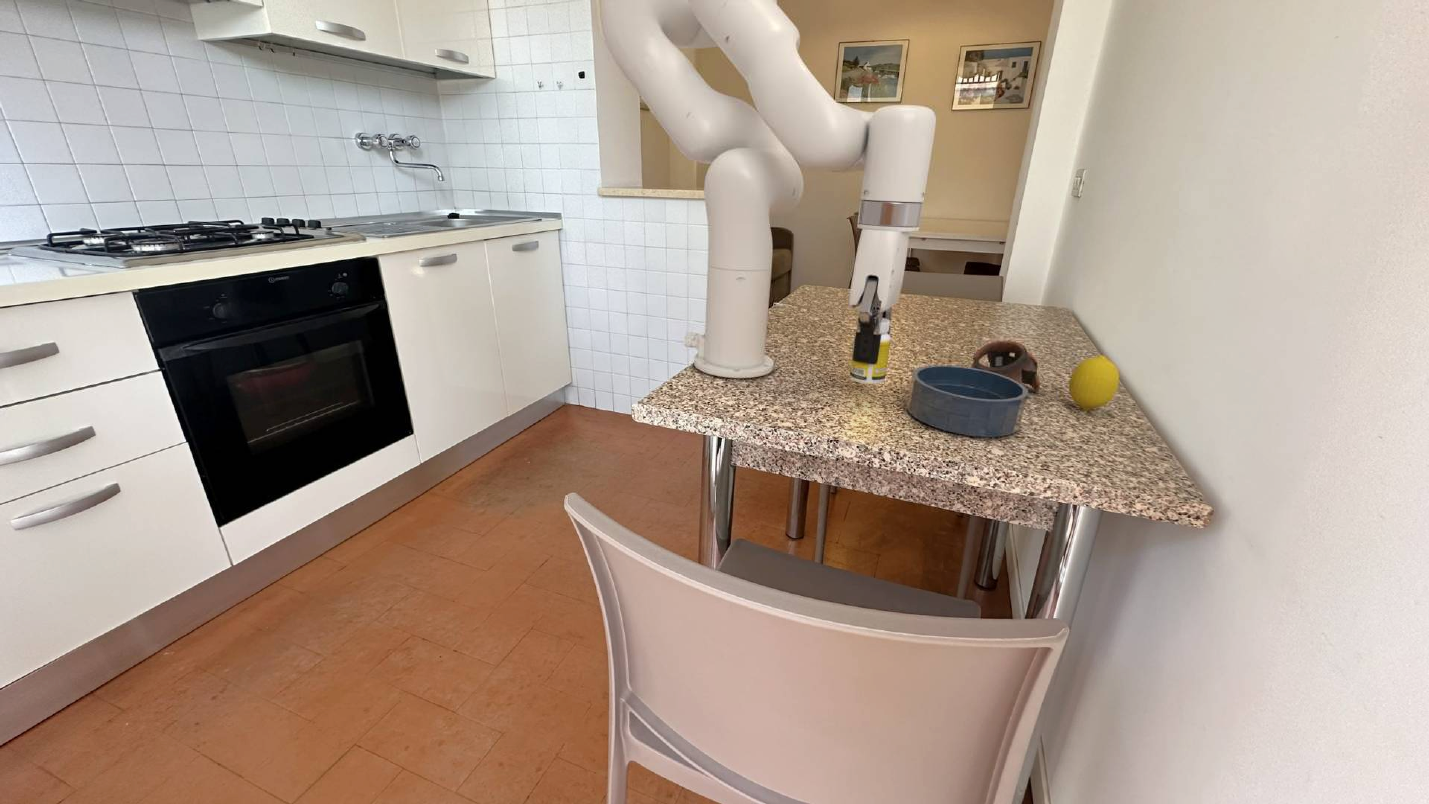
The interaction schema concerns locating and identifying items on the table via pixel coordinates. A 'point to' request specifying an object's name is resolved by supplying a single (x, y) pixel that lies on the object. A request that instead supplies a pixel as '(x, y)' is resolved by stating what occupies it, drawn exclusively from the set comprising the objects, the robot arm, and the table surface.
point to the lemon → (1094, 382)
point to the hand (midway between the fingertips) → (869, 355)
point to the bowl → (966, 400)
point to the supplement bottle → (873, 371)
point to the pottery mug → (1009, 362)
